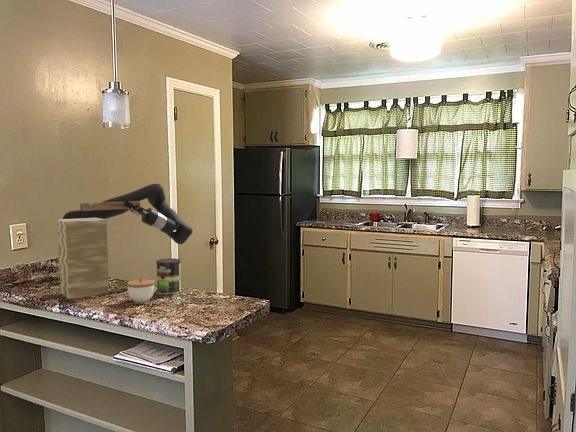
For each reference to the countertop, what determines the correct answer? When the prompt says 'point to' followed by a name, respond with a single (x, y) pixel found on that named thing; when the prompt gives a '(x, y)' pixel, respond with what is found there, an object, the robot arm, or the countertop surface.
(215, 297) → the countertop surface
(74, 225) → the stand
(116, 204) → the tan wooden plank
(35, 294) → the countertop surface
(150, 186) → the robot arm
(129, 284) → the lidded jar
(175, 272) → the coffee can
